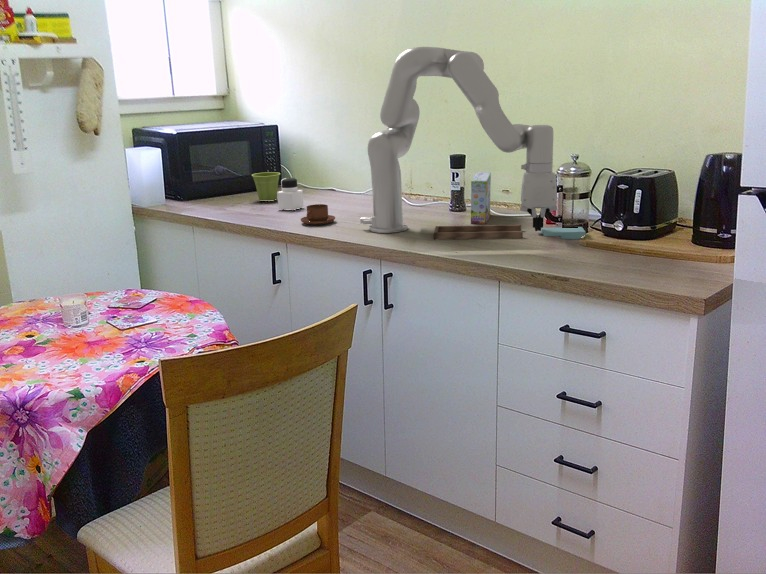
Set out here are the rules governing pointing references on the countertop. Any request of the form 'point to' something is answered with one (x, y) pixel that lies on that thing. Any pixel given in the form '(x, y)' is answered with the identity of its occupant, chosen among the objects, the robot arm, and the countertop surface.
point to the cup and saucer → (317, 215)
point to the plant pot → (266, 185)
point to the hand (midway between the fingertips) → (537, 229)
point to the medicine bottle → (290, 195)
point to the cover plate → (564, 232)
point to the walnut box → (478, 232)
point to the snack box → (480, 198)
